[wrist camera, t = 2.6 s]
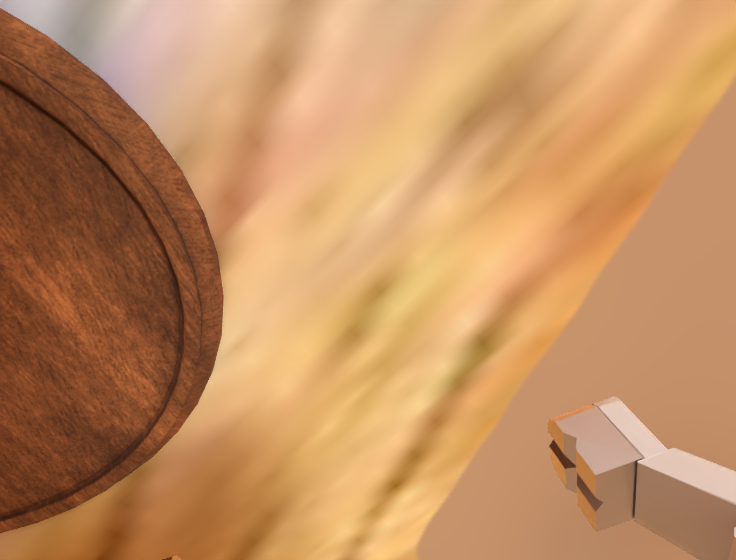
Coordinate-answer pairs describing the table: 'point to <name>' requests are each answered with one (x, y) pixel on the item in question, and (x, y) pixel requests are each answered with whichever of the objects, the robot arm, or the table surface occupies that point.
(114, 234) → the cutting board
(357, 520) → the table surface
